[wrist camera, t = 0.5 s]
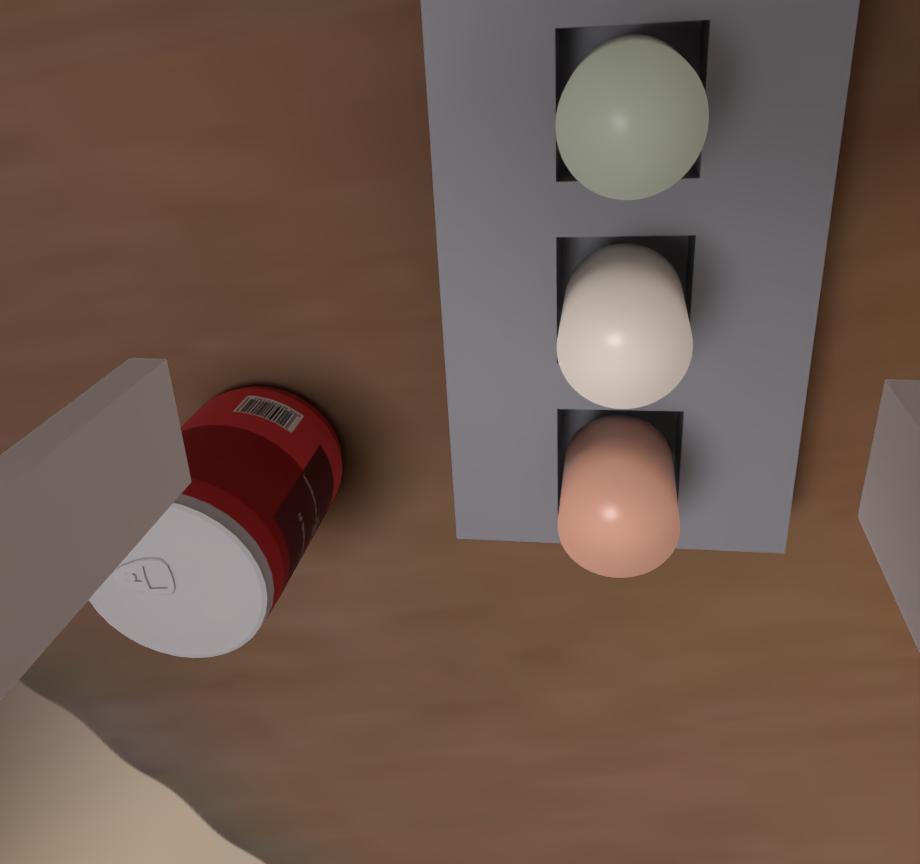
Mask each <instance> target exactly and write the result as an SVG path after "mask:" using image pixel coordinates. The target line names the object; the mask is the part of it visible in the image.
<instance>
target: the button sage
mask: <svg viewBox="0 0 920 864" xmlns="http://www.w3.org/2000/svg"><path fill="white" fill-rule="evenodd" d="M708 123H709V108H708V100H707V96H706V93H705V89H704V87H703V85H702V82H701V80H700V78H699V77H698V75H697V73H696V72H695V70H694V69H693V68H692V67H691V65H690V64H689V63H688V62H687V61H686V60H685V59H684V58H683V57H682V56H681V55H680V54H679V53H678V52H677V51H676V50H675V49H674V48H673V47H671V46H670V45H669V44H667V43H666V42H664V41H662V40H660V39H658V38H655V37H652V36H649V35H642V34H627V35H621V36H617V37H613V38H611V39H609V40H606V41H604V42H603V43H601V44H599V45H597V46H596V47H595V48H593V49H592V50H591V51H590V52H589V53H588V54H587V55H586V56H585V57H584V58H583V59H582V60H581V62H580V63H579V64H578V66H577V67H576V69H575V70H574V72H573V74H572V76H571V77H570V79H569V81H568V83H567V84H566V86H565V88H564V91H563V93H562V95H561V98H560V101H559V104H558V108H557V113H556V124H555V129H556V139H557V144H558V148H559V151H560V154H561V157H562V159H563V161H564V163H565V165H566V166H567V168H568V169H569V171H570V172H571V174H572V175H573V176H574V177H575V178H576V179H577V180H578V181H579V182H580V183H581V184H582V185H583V186H585V187H586V188H588V189H589V190H591V191H592V192H595V193H597V194H599V195H601V196H604V197H607V198H611V199H617V200H638V199H643V198H647V197H650V196H653V195H656V194H658V193H660V192H662V191H664V190H666V189H668V188H669V187H671V186H672V185H674V184H675V183H676V182H678V181H679V180H680V179H681V178H682V177H683V176H684V175H685V174H686V173H687V172H688V171H689V170H690V168H691V167H692V165H693V164H694V163H695V161H696V160H697V158H698V156H699V154H700V152H701V150H702V147H703V145H704V142H705V139H706V135H707V131H708Z"/></svg>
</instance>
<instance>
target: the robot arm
mask: <svg viewBox="0 0 920 864" xmlns="http://www.w3.org/2000/svg"><path fill="white" fill-rule="evenodd" d="M190 483H191V477H190V472H189V467H188V462H187V457H186V452H185V447H184V442H183V437H182V432H181V428H180V423H179V418H178V413H177V408H176V403H175V398H174V393H173V388H172V383H171V378H170V373H169V369H168V364H167V359H151V358H129V359H128V360H127V361H125V362H124V363H123V364H121V365H120V366H119V367H117V368H116V369H115V370H113V371H112V372H111V373H109V374H108V375H107V376H105V377H104V378H103V379H101V380H100V381H99V382H97V383H96V384H95V385H93V386H92V387H91V388H89V389H88V390H87V391H85V392H84V393H83V394H81V395H80V396H79V397H77V398H76V399H75V400H73V401H72V402H71V403H69V404H68V405H67V406H65V407H64V408H63V409H61V410H60V411H59V412H57V413H56V414H55V415H53V416H52V417H51V418H49V419H48V420H47V421H45V422H44V423H42V424H41V425H40V426H38V427H37V428H36V429H34V430H33V431H32V432H30V433H29V434H28V435H26V436H25V437H24V438H22V439H21V440H20V441H18V442H17V443H16V444H14V445H13V446H12V447H10V448H9V449H8V450H6V451H5V452H4V453H2V454H1V455H0V701H1V699H2V698H3V697H4V696H5V695H6V694H7V693H8V692H9V690H10V689H11V688H12V687H13V686H14V685H15V683H16V682H17V681H18V680H19V679H20V678H21V677H22V676H23V674H24V673H25V672H26V671H27V670H28V669H29V668H30V666H31V665H32V664H33V663H34V662H35V661H36V659H37V658H38V657H39V656H40V655H41V654H42V653H43V651H44V650H45V649H46V648H47V647H48V646H49V645H50V643H51V642H52V641H53V640H54V639H55V638H56V637H57V635H58V634H59V633H60V632H61V631H62V630H63V629H64V627H65V626H66V625H67V624H68V623H69V622H70V621H71V619H72V618H73V617H74V616H75V615H76V614H77V612H78V611H79V610H80V609H81V608H82V607H83V606H84V604H85V603H86V602H87V601H88V600H89V599H90V598H91V596H92V595H93V594H94V593H95V592H96V591H97V590H98V588H99V587H100V586H101V585H102V584H103V583H104V582H105V580H106V579H107V578H108V577H109V576H110V575H111V574H112V572H113V571H114V570H115V569H116V568H117V567H118V566H119V564H120V563H121V562H122V561H123V560H124V559H125V557H126V556H127V555H128V554H129V553H130V552H131V551H132V549H133V548H134V547H135V546H136V545H137V544H138V543H139V541H140V540H141V539H142V538H143V537H144V536H145V535H146V533H147V532H148V531H149V530H150V529H151V528H152V527H153V525H154V524H155V523H156V522H157V521H158V520H159V519H160V517H161V516H162V515H163V514H164V513H165V512H166V511H167V509H168V508H169V507H170V506H171V505H172V504H173V502H174V501H175V500H176V499H177V498H178V497H179V496H180V494H181V493H182V492H183V491H184V490H185V489H186V488H187V486H188V485H189V484H190ZM858 519H859V521H860V523H861V525H862V527H863V530H864V532H865V534H866V536H867V538H868V541H869V543H870V545H871V547H872V549H873V552H874V554H875V556H876V558H877V560H878V563H879V565H880V567H881V569H882V571H883V574H884V576H885V578H886V580H887V582H888V585H889V587H890V589H891V591H892V593H893V595H894V598H895V600H896V602H897V604H898V606H899V609H900V611H901V613H902V615H903V617H904V620H905V622H906V624H907V626H908V628H909V631H910V633H911V635H912V637H913V639H914V642H915V644H916V646H917V648H918V650H919V653H920V380H894V379H885V383H884V388H883V393H882V398H881V403H880V408H879V413H878V418H877V423H876V428H875V433H874V438H873V443H872V448H871V453H870V458H869V463H868V468H867V473H866V478H865V483H864V488H863V493H862V498H861V503H860V508H859V513H858Z"/></svg>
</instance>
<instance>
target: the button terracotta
mask: <svg viewBox="0 0 920 864" xmlns="http://www.w3.org/2000/svg"><path fill="white" fill-rule="evenodd" d="M558 534H559V538H560V541H561V544H562V546H563V547H564V549H565V551H566V552H567V554H568V555H569V556H570V557H571V558H572V559H573V560H574V561H575V562H576V563H577V564H579V565H580V566H582V567H583V568H585V569H587V570H589V571H591V572H593V573H596V574H599V575H602V576H607V577H614V578H626V577H634V576H638V575H642V574H645V573H647V572H649V571H652V570H654V569H655V568H657V567H658V566H660V565H661V564H662V563H664V562H665V561H666V560H667V559H668V558H669V557H670V555H671V554H672V552H673V551H674V549H675V547H676V545H677V543H678V540H679V536H680V519H679V510H678V502H677V493H676V484H675V476H674V467H673V458H672V452H671V449H670V446H669V444H668V442H667V440H666V439H665V437H664V436H663V434H662V433H661V432H660V431H659V430H658V429H657V428H655V427H654V426H653V425H651V424H650V423H648V422H646V421H644V420H642V419H639V418H636V417H633V416H628V415H610V416H604V417H601V418H597V419H595V420H593V421H591V422H589V423H587V424H586V425H584V426H583V427H582V428H580V429H579V430H578V431H577V432H576V433H575V435H574V436H573V437H572V439H571V441H570V442H569V444H568V447H567V450H566V454H565V462H564V471H563V480H562V488H561V497H560V506H559V515H558Z"/></svg>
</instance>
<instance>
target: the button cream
mask: <svg viewBox="0 0 920 864" xmlns="http://www.w3.org/2000/svg"><path fill="white" fill-rule="evenodd" d="M692 352H693V338H692V332H691V327H690V322H689V318H688V313H687V308H686V304H685V299H684V294H683V290H682V285H681V282H680V279H679V276H678V274H677V272H676V271H675V269H674V267H673V266H672V265H671V264H670V262H669V261H668V260H667V259H666V258H665V257H663V256H662V255H661V254H659V253H658V252H656V251H655V250H653V249H651V248H648V247H646V246H642V245H638V244H633V243H619V244H613V245H609V246H606V247H603V248H600V249H598V250H596V251H594V252H593V253H591V254H590V255H588V256H587V257H586V258H585V259H583V260H582V261H581V262H580V264H579V265H578V266H577V267H576V268H575V270H574V271H573V273H572V275H571V277H570V279H569V281H568V284H567V287H566V292H565V298H564V303H563V309H562V315H561V320H560V326H559V332H558V337H557V358H558V362H559V366H560V368H561V371H562V373H563V375H564V377H565V379H566V380H567V381H568V383H569V384H570V385H571V386H572V388H573V389H574V390H575V391H576V392H578V393H579V394H580V395H581V396H583V397H584V398H586V399H587V400H589V401H591V402H593V403H595V404H598V405H601V406H604V407H609V408H614V409H632V408H639V407H642V406H646V405H649V404H651V403H654V402H656V401H658V400H660V399H661V398H663V397H664V396H666V395H667V394H669V393H670V392H671V391H672V390H673V389H674V388H675V387H676V386H677V385H678V384H679V383H680V381H681V380H682V378H683V377H684V375H685V374H686V372H687V369H688V367H689V365H690V361H691V358H692Z"/></svg>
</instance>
